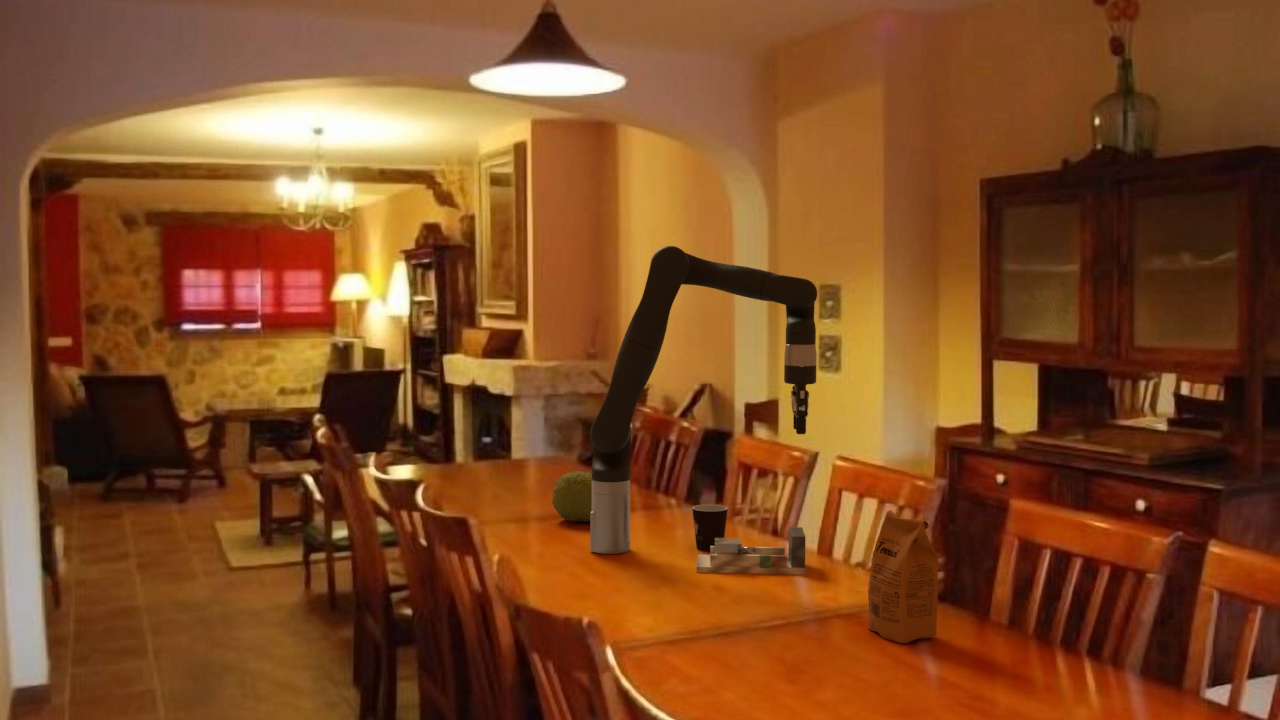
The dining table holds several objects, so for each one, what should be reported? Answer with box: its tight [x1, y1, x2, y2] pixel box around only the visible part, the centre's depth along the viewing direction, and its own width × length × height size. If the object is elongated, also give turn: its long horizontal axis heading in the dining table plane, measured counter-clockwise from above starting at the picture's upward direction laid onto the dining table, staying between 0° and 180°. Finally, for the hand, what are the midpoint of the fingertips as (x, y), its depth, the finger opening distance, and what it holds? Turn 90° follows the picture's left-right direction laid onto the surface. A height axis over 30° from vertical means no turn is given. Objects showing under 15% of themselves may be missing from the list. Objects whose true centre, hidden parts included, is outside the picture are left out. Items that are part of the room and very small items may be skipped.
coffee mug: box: [691, 504, 729, 553], centre depth 278 cm, size 12×9×10 cm
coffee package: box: [867, 510, 939, 644], centre depth 208 cm, size 10×12×22 cm
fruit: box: [551, 470, 592, 523], centre depth 309 cm, size 16×14×15 cm
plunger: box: [715, 537, 756, 554], centre depth 257 cm, size 9×9×4 cm
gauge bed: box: [696, 526, 806, 575], centre depth 259 cm, size 24×12×8 cm, turn 86°
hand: (799, 431), depth 270 cm, fingers open, 8 cm apart
